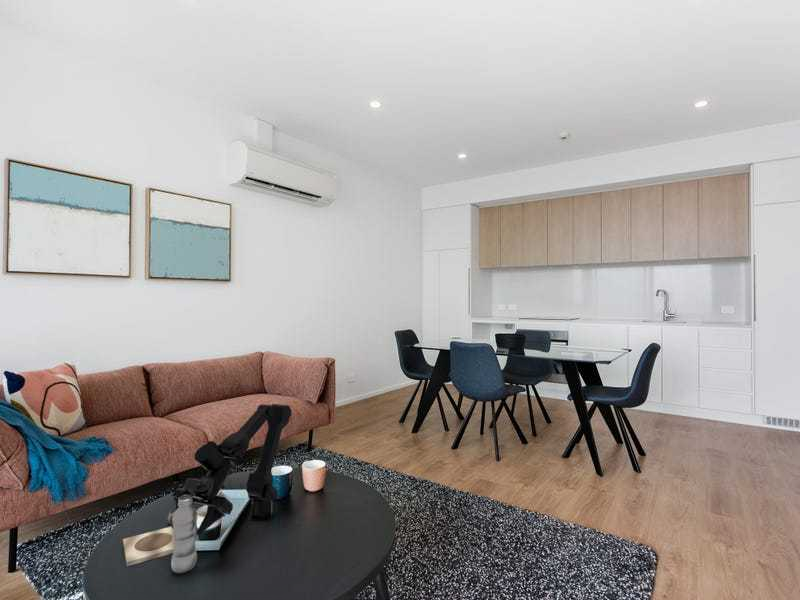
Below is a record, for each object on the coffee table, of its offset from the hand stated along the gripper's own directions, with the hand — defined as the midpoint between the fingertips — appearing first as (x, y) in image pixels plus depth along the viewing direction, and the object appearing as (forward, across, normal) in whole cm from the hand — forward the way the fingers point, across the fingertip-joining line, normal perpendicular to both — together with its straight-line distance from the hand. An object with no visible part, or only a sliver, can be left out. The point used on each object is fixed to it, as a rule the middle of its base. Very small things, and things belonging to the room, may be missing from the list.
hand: (185, 531), depth 119 cm
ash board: (+3, -18, +11) cm, 22 cm away
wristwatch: (-6, -24, +21) cm, 33 cm away
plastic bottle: (+8, 0, +8) cm, 11 cm away
